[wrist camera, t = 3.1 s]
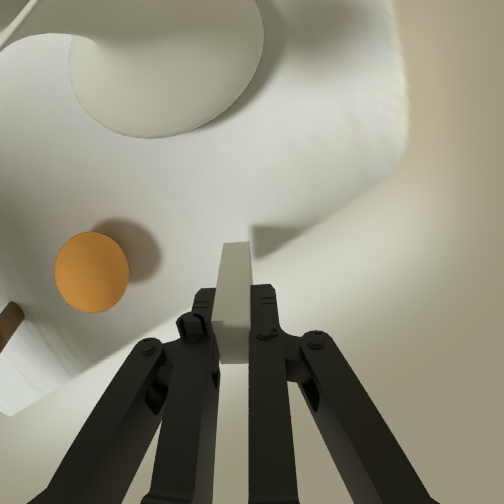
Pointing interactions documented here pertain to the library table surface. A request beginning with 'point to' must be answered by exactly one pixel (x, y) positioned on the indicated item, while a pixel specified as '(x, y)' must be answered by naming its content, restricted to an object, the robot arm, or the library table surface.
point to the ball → (91, 272)
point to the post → (9, 322)
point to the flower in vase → (148, 57)
